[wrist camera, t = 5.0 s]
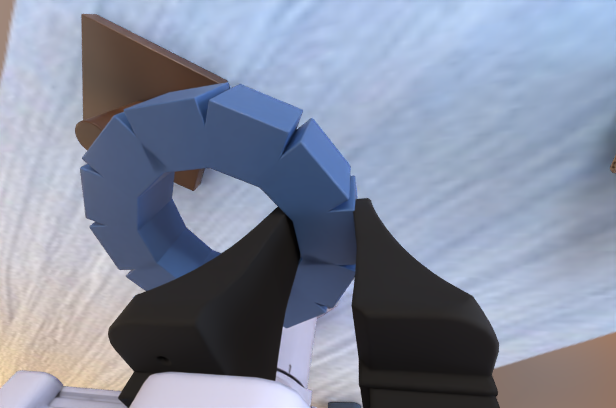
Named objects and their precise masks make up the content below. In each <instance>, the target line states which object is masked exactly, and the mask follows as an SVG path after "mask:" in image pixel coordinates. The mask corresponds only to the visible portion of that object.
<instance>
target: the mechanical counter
mask: <svg viewBox="0 0 616 408" xmlns="http://www.w3.org/2000/svg"><path fill="white" fill-rule="evenodd" d="M610 170H611V171H612V172H613V173H616V155H615V157H614V160H613V162H612V164H611V166H610Z"/></svg>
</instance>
